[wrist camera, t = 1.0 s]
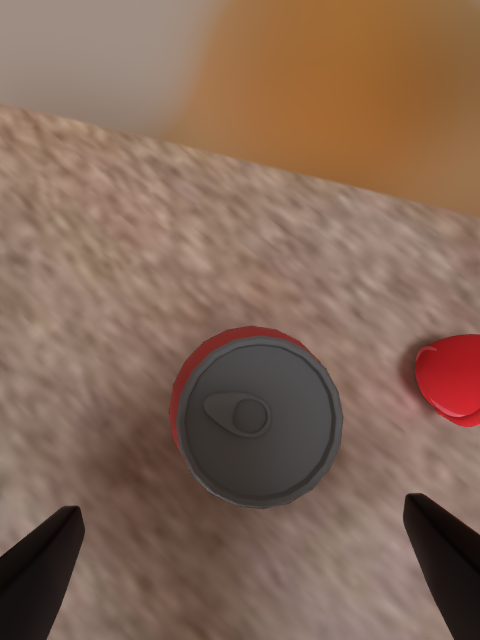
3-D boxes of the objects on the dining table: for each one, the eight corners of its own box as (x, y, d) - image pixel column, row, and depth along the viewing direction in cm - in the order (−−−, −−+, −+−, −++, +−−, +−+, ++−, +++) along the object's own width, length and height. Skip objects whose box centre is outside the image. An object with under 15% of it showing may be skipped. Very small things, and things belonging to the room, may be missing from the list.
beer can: (205, 325, 23) (196, 294, 11) (293, 353, 23) (380, 353, 11) (175, 417, 22) (129, 494, 10) (267, 445, 22) (330, 552, 10)
